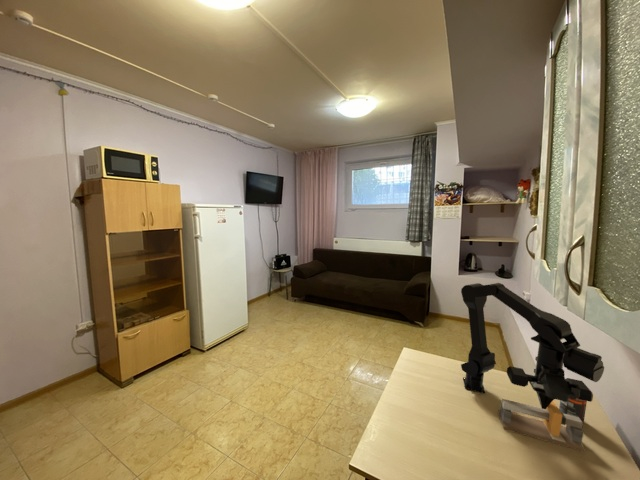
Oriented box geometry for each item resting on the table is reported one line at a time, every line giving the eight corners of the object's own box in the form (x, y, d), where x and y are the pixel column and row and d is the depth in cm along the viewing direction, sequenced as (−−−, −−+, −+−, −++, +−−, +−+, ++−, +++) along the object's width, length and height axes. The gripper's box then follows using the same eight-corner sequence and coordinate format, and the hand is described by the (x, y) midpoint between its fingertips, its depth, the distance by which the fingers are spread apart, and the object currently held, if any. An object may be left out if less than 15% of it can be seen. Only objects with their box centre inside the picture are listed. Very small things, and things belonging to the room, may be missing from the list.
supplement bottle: (578, 414, 86) (583, 383, 85) (587, 428, 81) (593, 395, 79) (555, 408, 89) (559, 378, 87) (562, 421, 83) (567, 389, 82)
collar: (540, 416, 82) (543, 396, 81) (548, 418, 81) (551, 398, 80) (550, 434, 76) (553, 412, 75) (559, 436, 75) (562, 414, 74)
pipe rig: (498, 412, 87) (500, 393, 86) (571, 431, 80) (574, 410, 79) (503, 429, 80) (506, 408, 79) (583, 451, 73) (587, 429, 72)
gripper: (520, 368, 73) (513, 418, 75) (610, 386, 66) (600, 441, 68) (508, 348, 83) (503, 392, 85) (585, 362, 76) (577, 410, 78)
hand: (543, 408), depth 79 cm, fingers closed
